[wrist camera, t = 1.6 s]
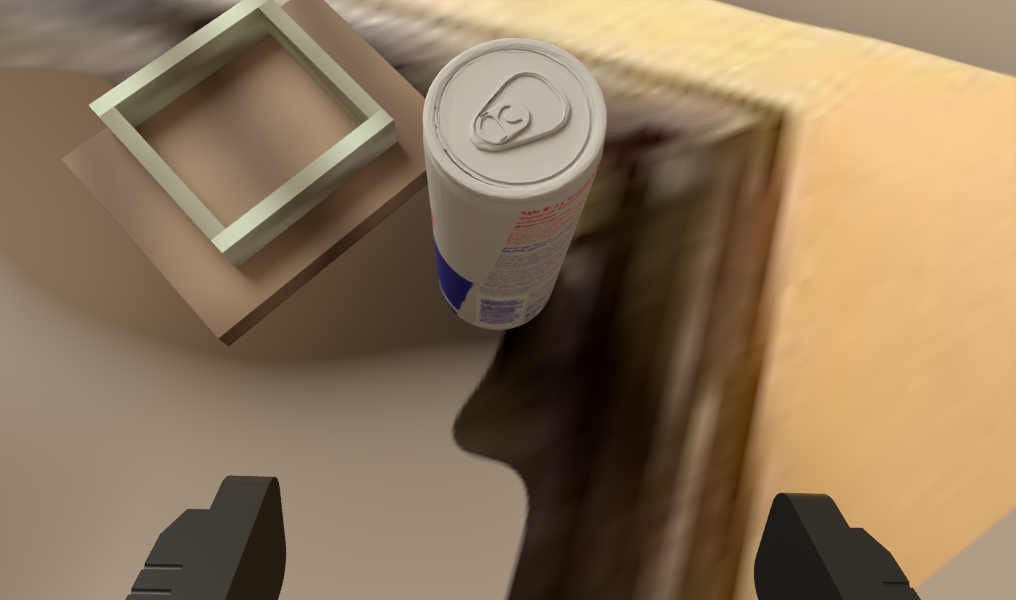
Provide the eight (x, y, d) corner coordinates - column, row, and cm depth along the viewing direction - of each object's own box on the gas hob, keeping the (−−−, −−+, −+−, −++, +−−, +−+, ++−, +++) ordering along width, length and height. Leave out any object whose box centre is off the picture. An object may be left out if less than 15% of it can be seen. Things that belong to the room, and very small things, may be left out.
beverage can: (566, 242, 36) (631, 60, 22) (535, 347, 35) (585, 223, 20) (458, 211, 36) (454, 9, 22) (423, 313, 35) (394, 167, 20)
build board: (315, 6, 39) (301, -42, 36) (465, 152, 37) (465, 116, 34) (77, 173, 36) (37, 137, 32) (228, 346, 34) (202, 326, 30)
